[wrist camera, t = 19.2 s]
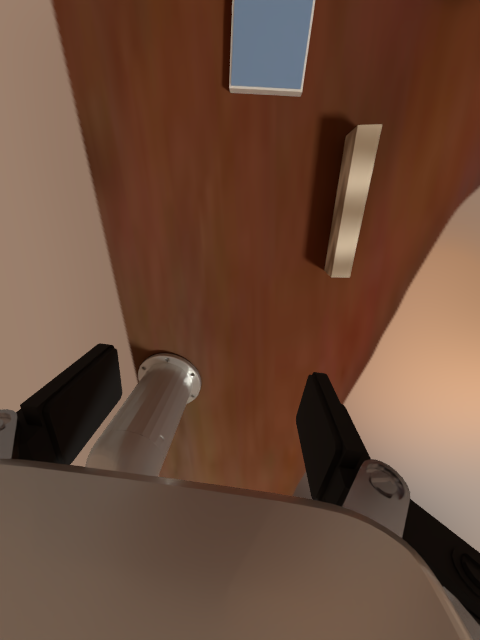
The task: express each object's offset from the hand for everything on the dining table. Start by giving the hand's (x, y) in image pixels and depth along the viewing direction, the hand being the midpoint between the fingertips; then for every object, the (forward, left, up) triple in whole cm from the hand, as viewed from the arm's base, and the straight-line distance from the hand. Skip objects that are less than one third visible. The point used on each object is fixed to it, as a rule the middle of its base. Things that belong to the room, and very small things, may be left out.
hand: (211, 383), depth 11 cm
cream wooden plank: (+9, -12, -26) cm, 30 cm away
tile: (+20, 0, -26) cm, 32 cm away
